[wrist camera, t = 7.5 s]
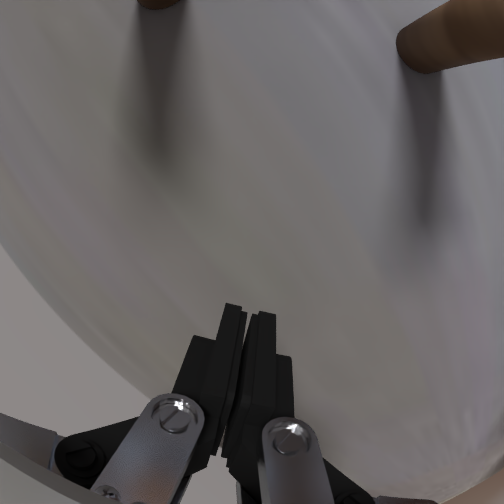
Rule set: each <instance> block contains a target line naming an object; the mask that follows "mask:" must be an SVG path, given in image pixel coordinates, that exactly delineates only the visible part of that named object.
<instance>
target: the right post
mask: <svg viewBox="0 0 504 504" xmlns="http://www.w3.org/2000/svg"><path fill="white" fill-rule="evenodd" d="M396 45H397V49H398V52H399V54H400V56H401V58H402V59H403V61H404V62H405V63H406V64H407V65H408V66H409V67H410V68H412V69H413V70H415V71H417V72H419V73H423V74H429V73H433V72H437V71H441V70H445V69H449V68H453V67H458V66H462V65H466V64H471V63H476V62H481V61H486V60H492V59H497V58H503V57H504V0H450V1H448V2H446V3H444V4H443V5H441V6H439V7H437V8H436V9H434V10H432V11H431V12H429V13H427V14H426V15H424V16H422V17H421V18H419V19H417V20H416V21H414V22H412V23H411V24H409V25H408V26H406V27H405V28H403V29H402V30H401V31H400V32H399V33H398V35H397V39H396Z"/></svg>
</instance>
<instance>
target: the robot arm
mask: <svg viewBox="0 0 504 504" xmlns="http://www.w3.org/2000/svg"><path fill="white" fill-rule="evenodd" d="M241 310H242V307H241V306H237V305H233V304H229V303H226V305H225V308H224V312H223V315H222V319H221V322H220V326H219V330H218V333H217V337H216V340H212V339H208V338H204V337H200V336H196V335H194V336H193V338H192V340H191V343H190V345H189V348H188V350H187V353H186V356H185V358H184V361H183V364H182V366H181V369H180V372H179V374H178V377H177V380H176V382H175V385H174V388H173V391H172V393H167V394H162V395H159V396H157V397H155V398H153V399H152V400H151V401H150V402H149V403H148V404H147V406H146V407H145V409H144V410H143V412H142V413H141V414H140V416H139V417H135V418H132V419H129V420H126V421H122V422H119V423H116V424H112V425H108V426H105V427H102V428H97V429H94V430H90V431H86V432H82V433H78V434H74V435H71V436H68V437H63V436H60V435H57V433H56V432H55V431H52V430H48V429H45V428H42V427H39V426H35V425H32V424H29V423H26V422H23V421H21V420H18V419H15V418H12V417H10V416H7V415H5V414H2V413H0V504H180V502H181V499H182V497H183V495H184V493H185V491H186V488H187V486H188V484H189V482H190V479H191V477H192V474H194V473H196V472H198V471H200V470H202V469H204V468H206V467H207V464H208V461H209V458H210V455H213V456H216V453H217V450H218V447H219V444H220V441H221V438H222V435H223V432H224V429H225V426H226V429H225V435H224V441H223V447H222V454H221V457H223V458H227V465H226V467H228V468H229V473H230V474H231V475H232V476H233V477H234V478H235V479H236V480H237V482H236V492H237V504H438V503H437V502H435V501H433V500H429V499H410V498H398V497H389V496H378V497H377V498H375V497H371V496H370V495H369V494H368V493H367V492H366V491H365V490H363V489H362V488H361V487H359V486H358V485H357V484H355V483H354V482H353V481H351V480H350V479H349V478H348V477H346V476H345V475H344V474H343V473H341V472H340V471H339V470H337V469H336V468H335V467H334V466H333V465H331V464H330V463H329V462H328V461H326V460H325V459H324V458H323V457H322V454H321V450H320V446H319V443H318V439H317V436H316V434H315V432H314V431H313V430H312V428H311V427H310V426H309V425H307V424H306V423H304V422H303V421H301V420H298V419H296V418H294V396H293V375H292V360H291V357H290V356H284V355H279V354H276V314H272V313H267V312H263V311H259V313H258V315H257V314H252V316H251V319H250V323H249V327H248V330H247V334H246V337H245V341H244V344H243V339H244V332H245V325H246V319H247V312H244V311H241ZM242 345H243V348H242Z"/></svg>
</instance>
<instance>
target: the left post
mask: <svg viewBox="0 0 504 504" xmlns="http://www.w3.org/2000/svg"><path fill="white" fill-rule="evenodd" d="M137 1H138V2H139V3H140V4H141V5H142V6H144V7H146V8H148V9H163V8H166V7H169V6H171V5H173V4H175V3H176V2H178V1H179V0H137Z"/></svg>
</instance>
